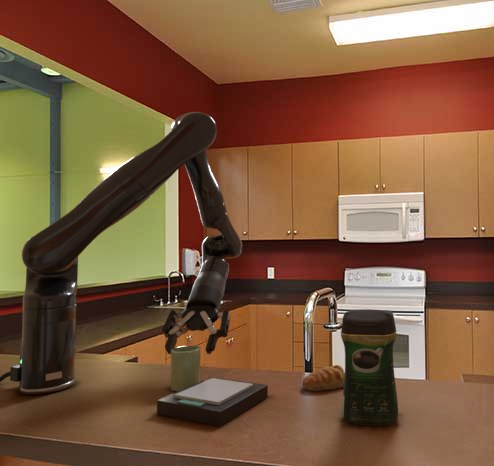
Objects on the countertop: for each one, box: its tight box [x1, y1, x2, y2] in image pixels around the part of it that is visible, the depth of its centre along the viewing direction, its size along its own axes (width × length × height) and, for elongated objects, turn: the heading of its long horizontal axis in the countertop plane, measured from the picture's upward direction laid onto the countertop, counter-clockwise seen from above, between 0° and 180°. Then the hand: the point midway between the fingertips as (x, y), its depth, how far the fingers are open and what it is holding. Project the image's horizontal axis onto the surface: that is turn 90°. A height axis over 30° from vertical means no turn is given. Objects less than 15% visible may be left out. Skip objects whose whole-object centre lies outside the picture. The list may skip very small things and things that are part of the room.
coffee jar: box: [340, 308, 399, 426], centre depth 70 cm, size 10×8×19 cm
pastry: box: [301, 364, 345, 392], centre depth 85 cm, size 9×7×4 cm
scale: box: [156, 376, 269, 427], centre depth 75 cm, size 14×14×3 cm
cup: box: [170, 345, 201, 392], centre depth 86 cm, size 6×6×8 cm
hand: (188, 352), depth 88 cm, fingers open, 8 cm apart
